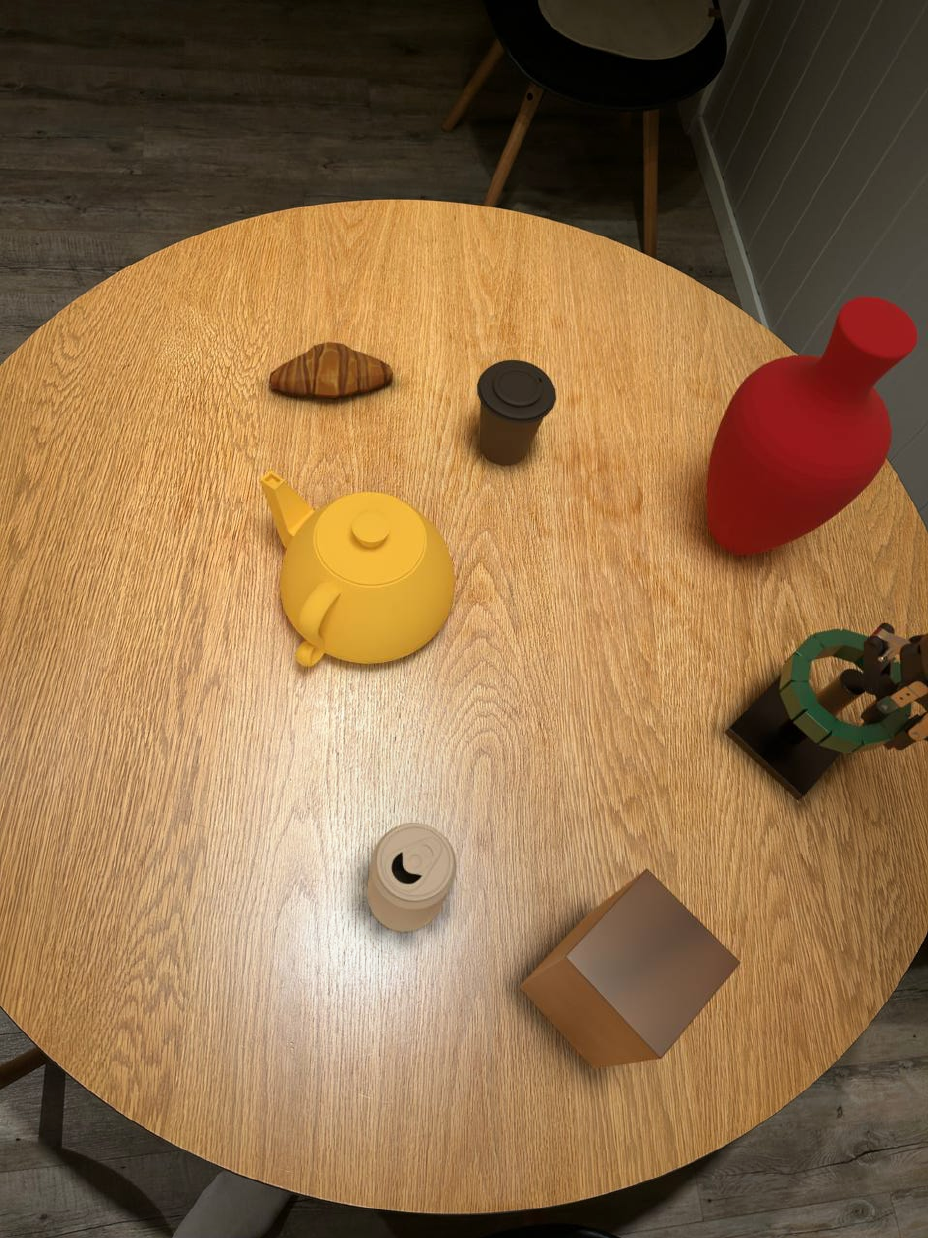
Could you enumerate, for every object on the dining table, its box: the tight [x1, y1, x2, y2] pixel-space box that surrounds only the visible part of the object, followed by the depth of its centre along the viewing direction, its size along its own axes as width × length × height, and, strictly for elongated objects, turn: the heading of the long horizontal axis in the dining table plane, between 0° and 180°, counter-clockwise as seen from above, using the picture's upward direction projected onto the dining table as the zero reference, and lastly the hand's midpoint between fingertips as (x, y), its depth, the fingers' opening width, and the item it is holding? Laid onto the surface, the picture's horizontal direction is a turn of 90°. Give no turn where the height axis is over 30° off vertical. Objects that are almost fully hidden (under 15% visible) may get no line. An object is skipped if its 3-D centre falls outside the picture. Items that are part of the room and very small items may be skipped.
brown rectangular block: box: [518, 868, 741, 1070], centre depth 69 cm, size 8×8×18 cm
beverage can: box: [366, 822, 457, 933], centre depth 74 cm, size 6×6×12 cm
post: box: [724, 668, 867, 801], centre depth 84 cm, size 9×9×13 cm
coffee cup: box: [476, 359, 557, 467], centre depth 98 cm, size 8×8×10 cm
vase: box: [705, 296, 918, 556], centre depth 87 cm, size 15×15×30 cm
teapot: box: [259, 469, 456, 668], centre depth 86 cm, size 20×19×13 cm
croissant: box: [268, 341, 394, 400], centre depth 101 cm, size 14×7×5 cm, turn 101°
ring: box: [780, 627, 913, 755], centre depth 80 cm, size 10×10×2 cm
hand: (880, 731), depth 80 cm, fingers closed on ring, 1 cm apart
